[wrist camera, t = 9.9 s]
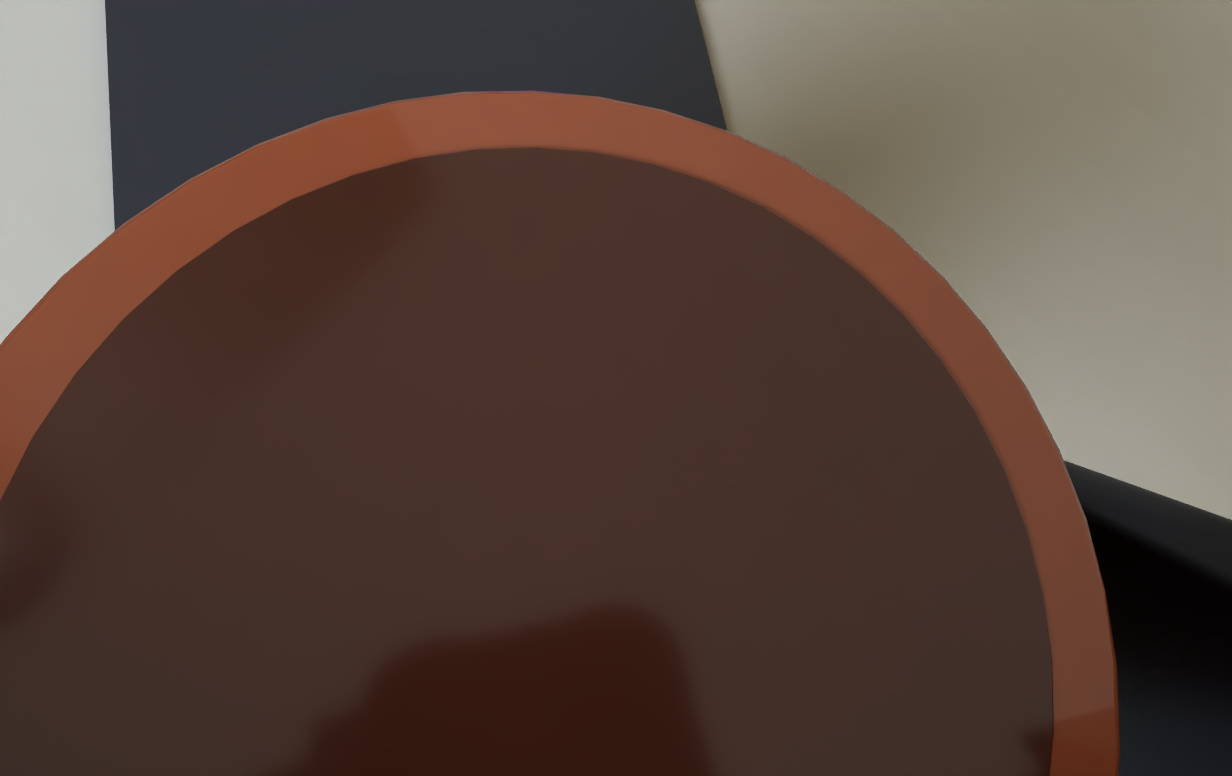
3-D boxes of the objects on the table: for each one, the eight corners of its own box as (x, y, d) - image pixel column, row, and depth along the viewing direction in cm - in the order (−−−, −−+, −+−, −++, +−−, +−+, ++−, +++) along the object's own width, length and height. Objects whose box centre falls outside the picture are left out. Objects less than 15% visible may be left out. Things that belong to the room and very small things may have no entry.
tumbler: (734, 778, 15) (1314, 1167, 4) (334, 877, 14) (-214, 1774, 3) (657, 408, 17) (940, 48, 6) (295, 464, 15) (-146, 128, 5)
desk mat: (916, 901, 15) (921, 905, 15) (158, 1121, 13) (152, 1128, 12) (681, -39, 20) (683, -45, 20) (108, -11, 18) (103, -19, 17)
